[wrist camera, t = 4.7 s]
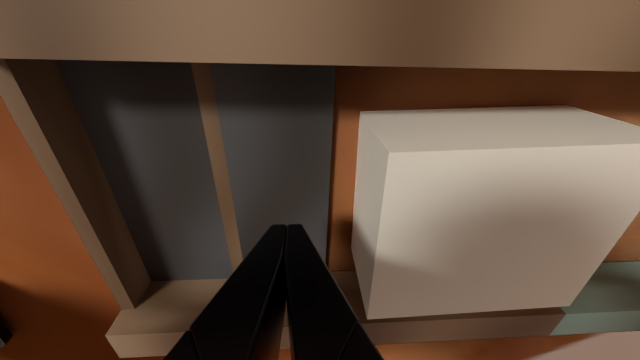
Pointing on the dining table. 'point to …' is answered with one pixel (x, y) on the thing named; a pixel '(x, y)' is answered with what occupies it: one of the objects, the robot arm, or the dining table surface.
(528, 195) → the ivory block
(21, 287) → the dining table surface
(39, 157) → the box
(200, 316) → the robot arm
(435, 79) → the dining table surface
